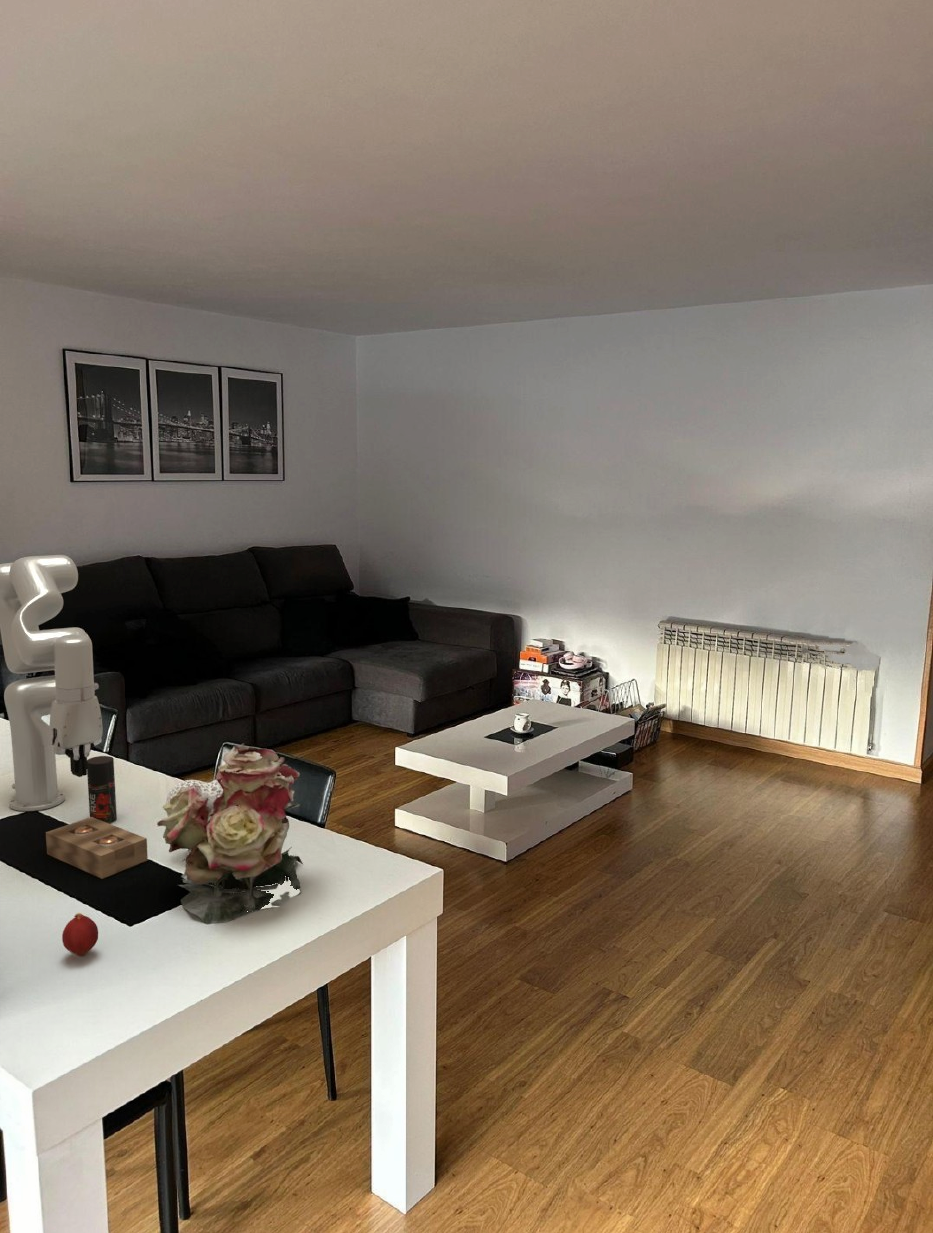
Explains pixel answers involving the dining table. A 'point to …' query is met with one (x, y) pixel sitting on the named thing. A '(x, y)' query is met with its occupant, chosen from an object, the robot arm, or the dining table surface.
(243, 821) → the rose bouquet
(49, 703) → the robot arm
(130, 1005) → the dining table surface
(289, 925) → the dining table surface
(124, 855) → the socket block
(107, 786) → the deodorant
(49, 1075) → the dining table surface
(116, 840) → the plunger
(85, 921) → the onion
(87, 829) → the plunger
